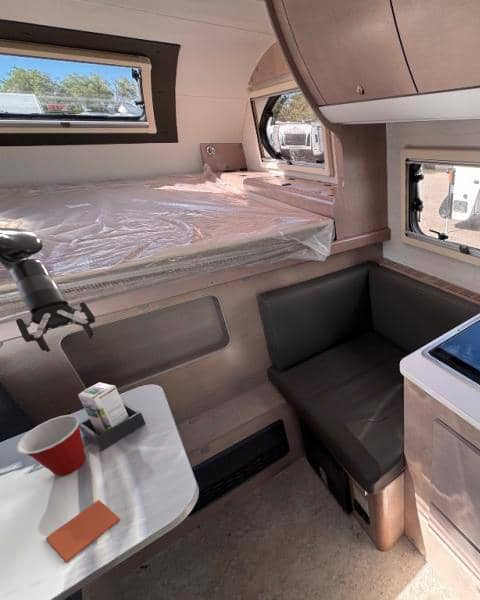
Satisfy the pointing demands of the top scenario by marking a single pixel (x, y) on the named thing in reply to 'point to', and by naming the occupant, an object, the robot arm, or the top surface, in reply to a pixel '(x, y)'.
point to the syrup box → (103, 406)
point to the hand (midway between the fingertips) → (70, 343)
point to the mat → (82, 530)
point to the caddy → (113, 429)
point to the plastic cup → (56, 445)
